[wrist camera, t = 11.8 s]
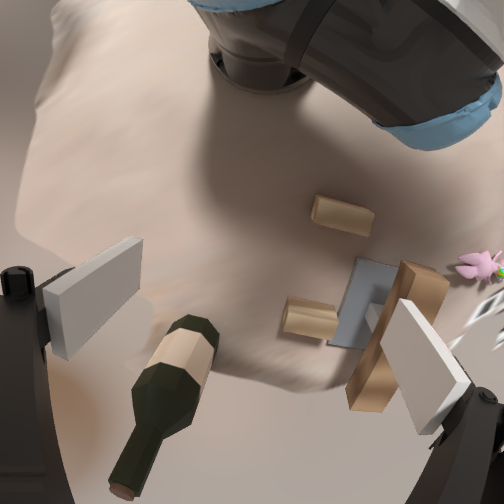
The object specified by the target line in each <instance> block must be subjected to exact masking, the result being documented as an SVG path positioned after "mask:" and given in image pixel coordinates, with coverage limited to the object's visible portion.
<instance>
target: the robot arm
mask: <svg viewBox="0 0 504 504" xmlns="http://www.w3.org/2000/svg"><path fill="white" fill-rule="evenodd" d="M187 1H188V2H190V3H191V5H193V7H194V8H195V10H196V11H197V13H198V14H199V16H200V17H201V19H202V20H203V22H204V23H205V25H206V26H207V28H208V29H209V31H210V35H209V42H208V44H209V52H210V56H211V59H212V61H213V63H214V65H215V67H216V68H217V69H218V71H219V72H220V73H221V75H222V76H223V77H224V78H225V79H226V80H227V81H229V82H230V83H231V84H233V85H234V86H236V87H238V88H240V89H242V90H245V91H248V92H252V93H257V94H279V93H284V92H287V91H290V90H293V89H295V88H297V87H299V86H301V85H303V84H304V83H306V82H307V81H308V80H309V79H310V78H312V79H313V80H315V81H317V82H318V83H320V84H321V85H323V86H324V87H326V88H327V89H329V90H331V91H332V92H334V93H335V94H337V95H338V96H340V97H341V98H342V99H344V100H345V101H347V102H348V103H350V104H351V105H352V106H354V107H355V108H357V109H358V110H359V111H361V112H362V113H363V114H365V115H366V116H367V117H369V118H370V119H371V120H372V122H373V123H374V124H375V125H376V126H377V127H379V128H381V129H383V130H386V131H388V132H389V133H390V134H392V135H393V136H394V137H396V138H397V139H398V140H400V141H401V142H402V143H404V144H405V145H406V146H408V147H410V148H413V149H419V150H423V151H433V150H439V149H443V148H446V147H449V146H452V145H454V144H456V143H458V142H460V141H462V140H463V139H465V138H467V137H468V136H470V135H471V134H472V133H474V132H475V131H477V130H478V129H479V128H480V127H481V126H482V125H483V124H484V123H485V122H486V121H487V120H488V119H489V118H490V117H491V112H490V111H491V110H493V109H495V108H497V106H498V104H499V102H500V100H501V97H502V83H501V81H500V77H499V75H498V73H497V72H496V71H497V70H498V69H499V68H500V67H501V66H503V65H504V0H187ZM142 248H143V239H140V238H136V237H132V236H129V237H127V238H126V239H124V240H122V241H120V242H118V243H117V244H115V245H113V246H111V247H110V248H108V249H106V250H104V251H103V252H101V253H99V254H98V255H96V256H94V257H92V258H91V259H89V260H87V261H86V262H84V263H82V264H81V265H79V266H77V267H73V268H70V269H66V270H64V271H62V272H60V273H59V274H57V276H54V277H52V278H51V280H50V279H49V280H47V281H46V282H44V283H42V284H41V285H39V286H38V287H36V288H35V286H34V276H33V271H32V270H31V269H30V268H28V267H25V266H14V267H10V268H7V269H5V270H4V271H2V273H1V274H0V278H1V284H2V290H3V295H0V504H75V502H74V499H73V496H72V493H71V490H70V487H69V484H68V480H67V477H66V473H65V470H64V466H63V462H62V458H61V454H60V449H59V445H58V440H57V435H56V430H55V425H54V419H53V413H52V407H51V400H50V391H49V383H48V373H47V359H46V351H45V346H46V345H47V343H49V342H50V341H51V346H52V351H53V354H55V355H57V356H59V357H61V358H63V359H65V360H67V361H69V360H70V359H71V358H72V357H73V355H75V354H76V352H77V351H78V350H79V349H80V348H81V347H82V346H83V345H84V344H85V343H86V342H87V341H88V340H89V339H90V338H91V337H92V336H93V335H94V334H95V333H96V332H97V331H98V330H99V329H100V328H101V327H102V326H103V325H104V324H105V323H106V322H107V320H108V319H109V318H110V317H111V316H112V315H113V314H114V313H115V312H116V311H117V310H119V309H120V308H121V306H122V305H124V304H125V302H127V301H128V300H129V298H131V297H132V296H133V295H134V294H135V293H136V292H137V291H138V290H139V289H140V275H141V260H142ZM380 344H381V347H382V349H383V351H384V353H385V355H386V358H387V360H388V362H389V365H390V367H391V369H392V371H393V374H394V376H395V378H396V381H397V383H398V386H399V388H400V390H401V392H402V395H403V398H404V400H405V403H406V405H407V408H408V410H409V413H410V415H411V418H412V420H413V423H414V426H415V428H416V431H417V434H418V435H428V434H433V433H434V432H435V431H436V430H437V428H438V427H439V426H440V425H441V424H442V426H443V428H444V431H443V432H442V433H441V435H440V436H439V437H438V438H437V439H436V440H435V441H434V443H433V444H432V445H431V446H430V447H429V449H431V448H432V447H434V449H433V451H432V453H431V456H430V457H429V460H428V462H427V464H426V466H425V468H424V470H423V472H422V474H421V476H420V478H419V480H418V481H417V483H416V485H415V487H414V489H413V491H412V492H411V494H410V496H409V498H408V499H407V501H406V503H405V504H504V451H503V452H501V448H502V446H503V445H504V404H500V403H498V399H497V397H496V396H495V395H494V394H493V393H492V392H491V391H490V390H488V389H486V388H483V387H477V388H476V386H475V385H474V383H473V382H472V380H471V379H470V377H469V376H468V374H467V373H466V371H464V368H463V367H462V366H461V365H460V363H459V361H458V360H457V358H456V357H455V356H454V355H453V354H452V353H451V352H450V351H449V349H448V348H447V347H446V345H445V344H444V343H443V341H442V340H441V338H440V337H439V336H438V334H437V333H436V332H435V330H434V329H433V328H432V326H431V325H430V324H429V322H428V321H427V320H426V319H425V317H424V316H423V315H422V313H421V312H420V311H419V310H418V308H417V307H416V306H415V305H414V303H413V302H412V301H410V300H405V299H401V298H399V301H398V303H397V306H396V308H395V310H394V313H393V315H392V317H391V320H390V322H389V324H388V326H387V329H386V331H385V333H384V335H383V337H382V339H381V342H380Z"/></svg>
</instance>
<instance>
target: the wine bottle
mask: <svg viewBox="0 0 504 504" xmlns="http://www.w3.org/2000/svg"><path fill="white" fill-rule="evenodd" d="M219 335H220V334H219V333H218V332H217V330H216V329H215V328H214V327H213V325H212V324H211V323H210V322H209V320H208V319H205V318H201V317H197V316H193V315H189V314H188V315H186V316H184V317H182V318H181V319H179V320H177V321H175V322H174V323H173V324H172V326H171V327H170V329H169V331H168V332H167V334H166V335H165V337H164V338H163V340H162V342H161V343H160V345H159V346H158V348H157V349H156V351H155V353H154V354H153V356H152V357H151V359H150V361H149V362H148V364H147V365H146V367H145V368H144V370H143V372H142V373H141V375H140V377H139V378H138V380H137V381H136V383H135V385H134V386H133V388H132V390H131V391H132V401H133V409H134V415H135V421H136V426H135V428H134V430H133V432H132V434H131V436H130V438H129V440H128V442H127V444H126V446H125V448H124V450H123V452H122V453H121V455H120V457H119V460H118V461H117V463H116V466H115V467H114V469H113V471H112V473H111V475H110V477H109V479H108V482H109V484H110V485H111V486H110V488H109V489H110V491H111V493H113V494H114V495H116V496H117V497H119V498H122V499H124V500H127V501H133V499H134V497H140V495H141V492H142V490H143V487H144V485H145V482H146V480H147V478H148V475H149V473H150V470H151V468H152V465H153V463H154V461H155V458H156V456H157V453H158V451H159V448H160V446H161V443H162V441H163V439H165V438H167V437H169V436H171V435H173V434H175V433H177V432H178V431H180V430H182V429H184V428H186V427H188V426H189V425H191V423H192V420H193V418H194V415H195V412H196V409H197V406H198V403H199V400H200V397H201V394H202V391H203V389H204V385H205V383H206V380H207V377H208V374H209V371H210V368H211V366H212V363H213V360H214V357H215V354H216V351H217V347H218V341H219Z"/></svg>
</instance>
